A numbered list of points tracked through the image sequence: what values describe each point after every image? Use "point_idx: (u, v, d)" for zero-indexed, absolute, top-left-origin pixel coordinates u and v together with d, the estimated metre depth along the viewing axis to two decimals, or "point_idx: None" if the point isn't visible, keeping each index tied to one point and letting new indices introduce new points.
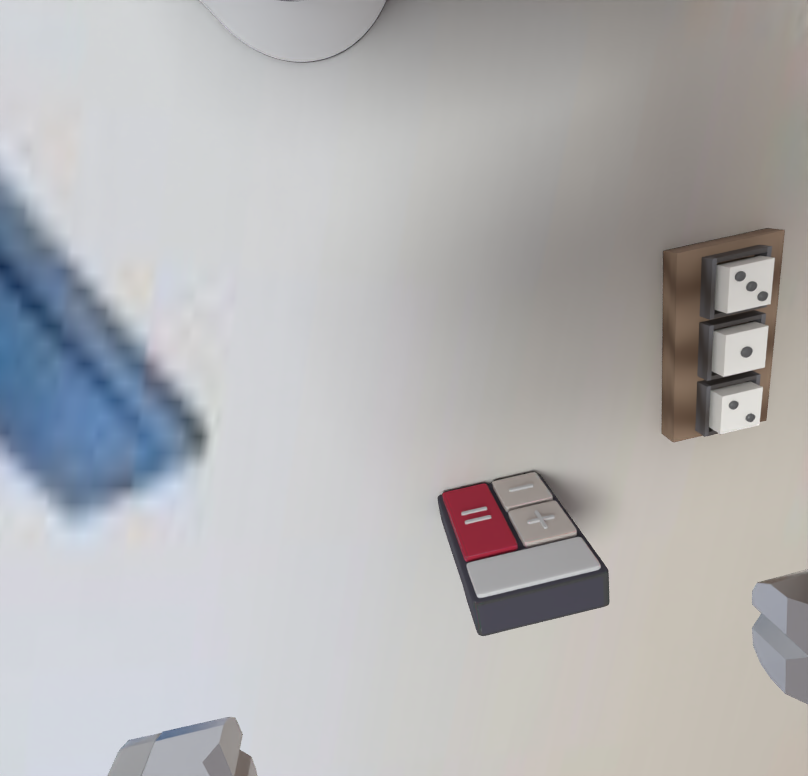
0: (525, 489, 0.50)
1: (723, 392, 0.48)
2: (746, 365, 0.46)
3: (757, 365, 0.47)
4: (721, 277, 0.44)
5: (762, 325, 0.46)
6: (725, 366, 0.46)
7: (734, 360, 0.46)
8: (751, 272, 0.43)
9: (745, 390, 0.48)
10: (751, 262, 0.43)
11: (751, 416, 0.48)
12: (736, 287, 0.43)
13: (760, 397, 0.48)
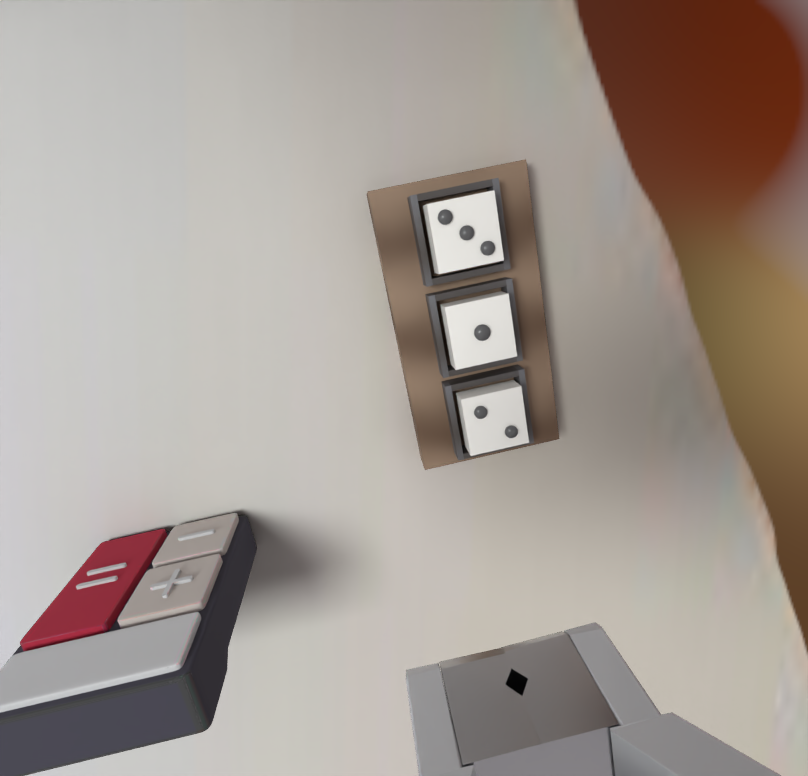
0: (199, 537, 0.35)
1: (467, 394, 0.33)
2: (487, 353, 0.32)
3: (505, 353, 0.32)
4: (427, 222, 0.30)
5: (502, 294, 0.31)
6: (454, 354, 0.32)
7: (467, 345, 0.32)
8: (462, 211, 0.30)
9: (496, 391, 0.33)
10: (461, 197, 0.29)
11: (511, 429, 0.33)
12: (444, 234, 0.30)
13: (521, 401, 0.33)
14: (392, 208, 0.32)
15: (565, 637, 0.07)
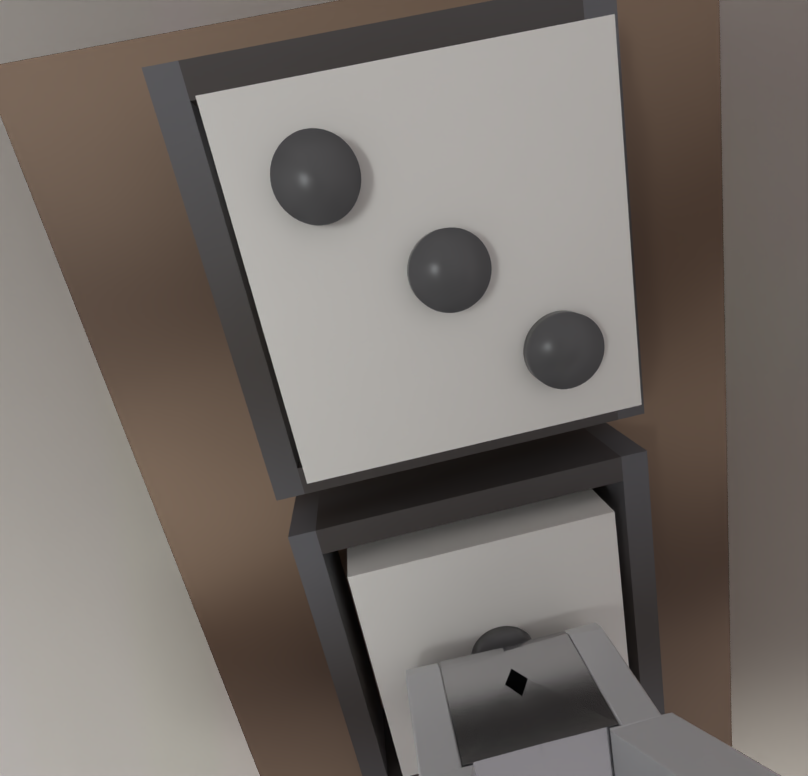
0: None
1: None
2: None
3: None
4: None
5: (585, 504, 0.08)
6: (397, 731, 0.08)
7: None
8: (424, 149, 0.05)
9: None
10: (414, 61, 0.05)
11: None
12: (323, 279, 0.05)
13: None
14: (116, 151, 0.07)
15: (564, 637, 0.07)
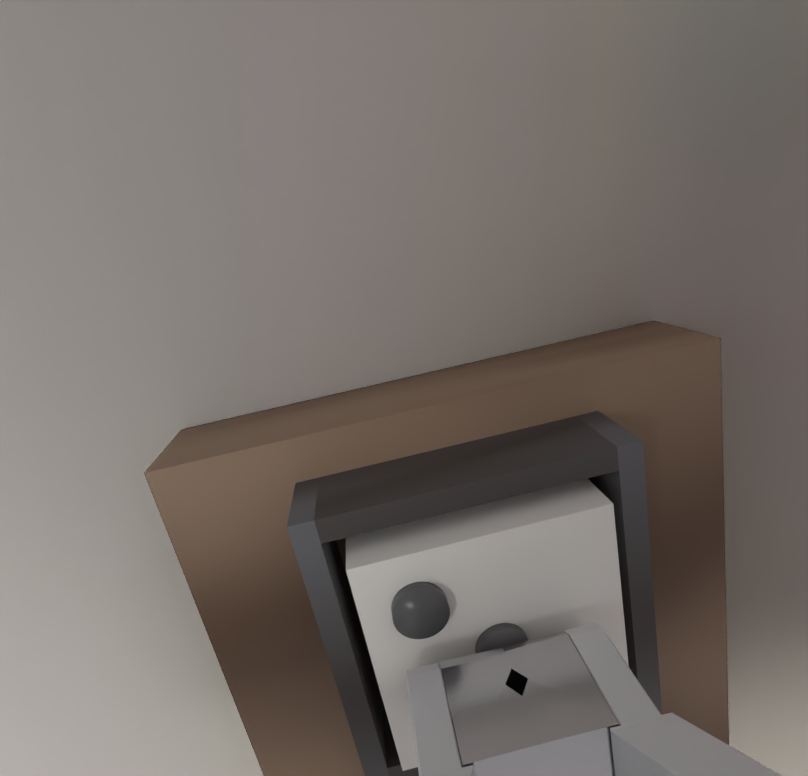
0: None
1: None
2: None
3: None
4: None
5: None
6: None
7: None
8: (488, 583, 0.08)
9: None
10: (483, 529, 0.08)
11: None
12: (420, 656, 0.08)
13: None
14: (243, 519, 0.09)
15: (564, 636, 0.07)
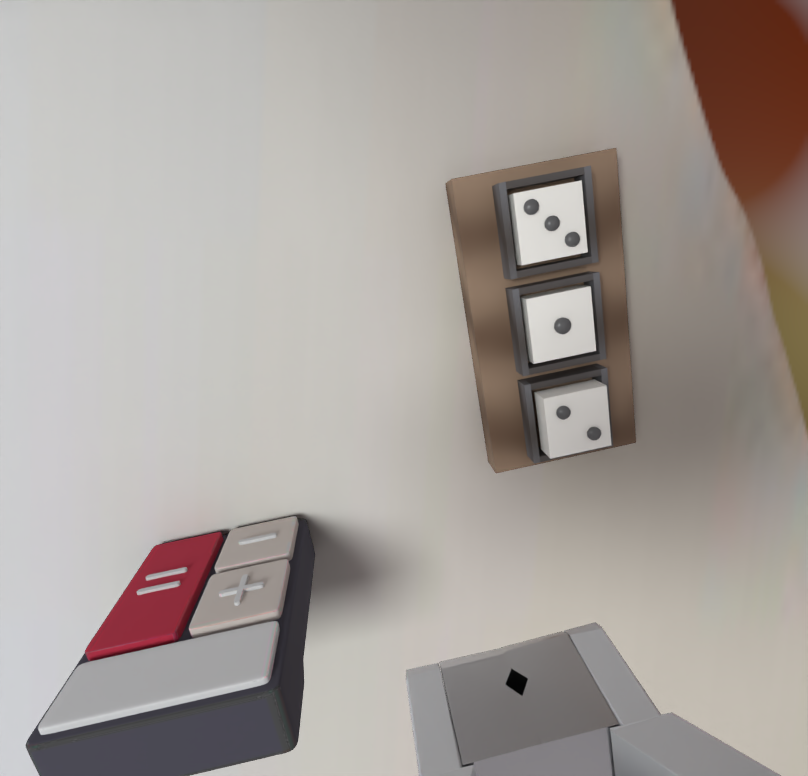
0: (261, 541, 0.33)
1: (548, 393, 0.32)
2: (566, 347, 0.31)
3: (584, 347, 0.31)
4: (510, 212, 0.30)
5: (583, 286, 0.31)
6: (533, 347, 0.31)
7: (546, 338, 0.31)
8: (548, 202, 0.29)
9: (580, 390, 0.31)
10: (547, 187, 0.29)
11: (594, 431, 0.32)
12: (529, 224, 0.29)
13: (605, 402, 0.31)
14: (476, 197, 0.30)
15: (564, 636, 0.07)
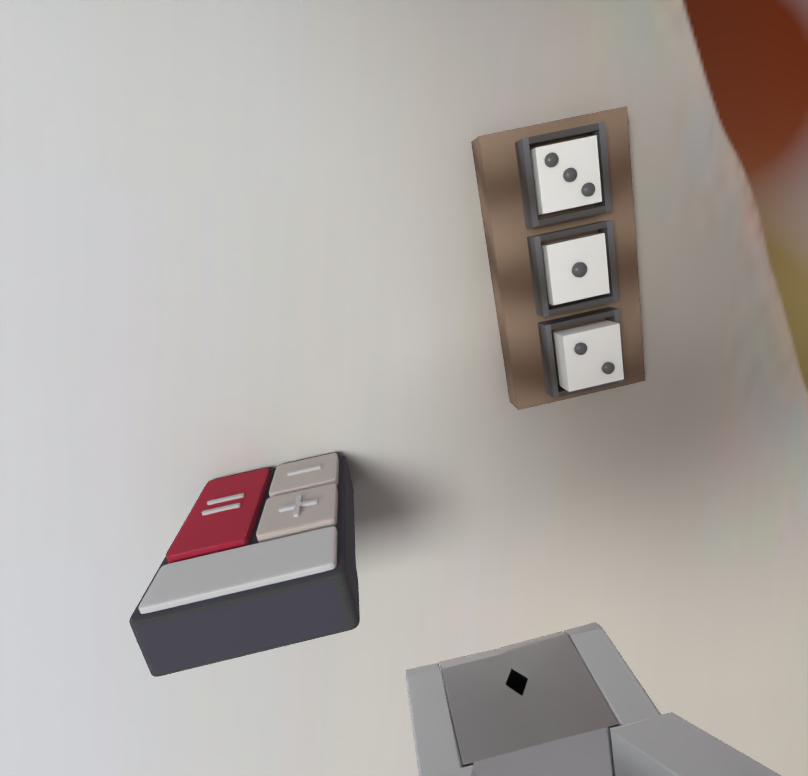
0: (308, 472, 0.36)
1: (567, 332, 0.35)
2: (583, 289, 0.35)
3: (598, 289, 0.35)
4: (532, 166, 0.33)
5: (598, 234, 0.34)
6: (553, 290, 0.34)
7: (565, 282, 0.34)
8: (567, 155, 0.32)
9: (595, 328, 0.35)
10: (565, 142, 0.32)
11: (609, 365, 0.35)
12: (549, 176, 0.32)
13: (618, 339, 0.35)
14: (500, 153, 0.33)
15: (564, 636, 0.07)
